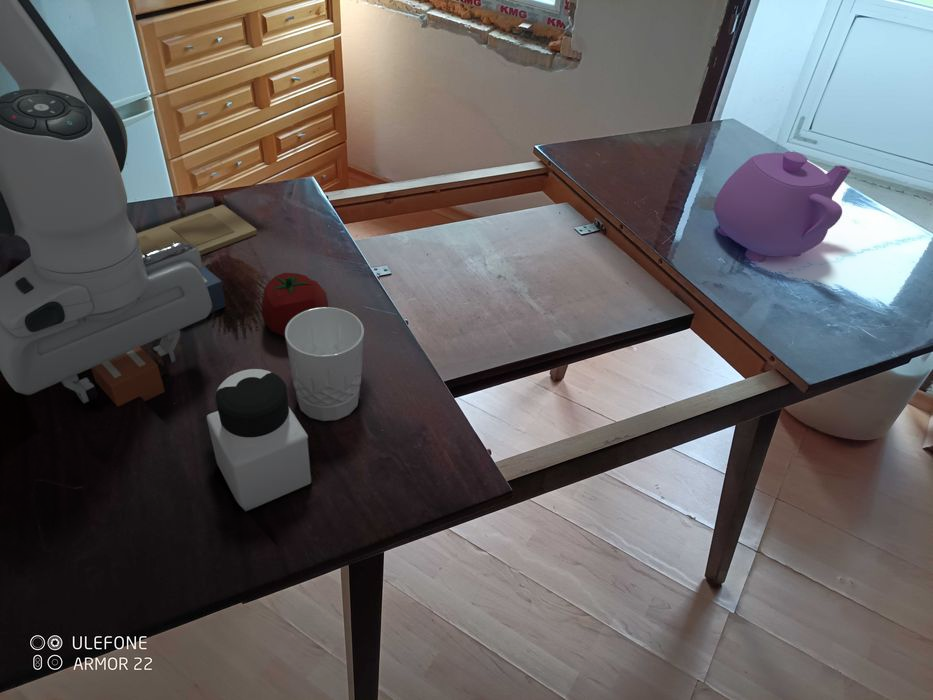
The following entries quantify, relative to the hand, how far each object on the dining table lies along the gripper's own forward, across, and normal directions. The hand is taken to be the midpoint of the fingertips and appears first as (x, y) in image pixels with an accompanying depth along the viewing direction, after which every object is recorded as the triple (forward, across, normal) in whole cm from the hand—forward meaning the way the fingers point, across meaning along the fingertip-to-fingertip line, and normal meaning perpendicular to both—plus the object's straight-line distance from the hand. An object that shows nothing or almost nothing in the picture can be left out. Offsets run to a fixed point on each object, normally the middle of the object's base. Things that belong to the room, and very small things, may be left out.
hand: (128, 378), depth 73 cm
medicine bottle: (+2, -4, +19) cm, 20 cm away
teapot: (+2, -90, +34) cm, 96 cm away
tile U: (+2, 0, 0) cm, 2 cm away
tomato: (+2, -20, +2) cm, 20 cm away
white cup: (+2, -15, +15) cm, 21 cm away
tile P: (+2, -13, -9) cm, 16 cm away
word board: (+2, -17, -23) cm, 29 cm away
